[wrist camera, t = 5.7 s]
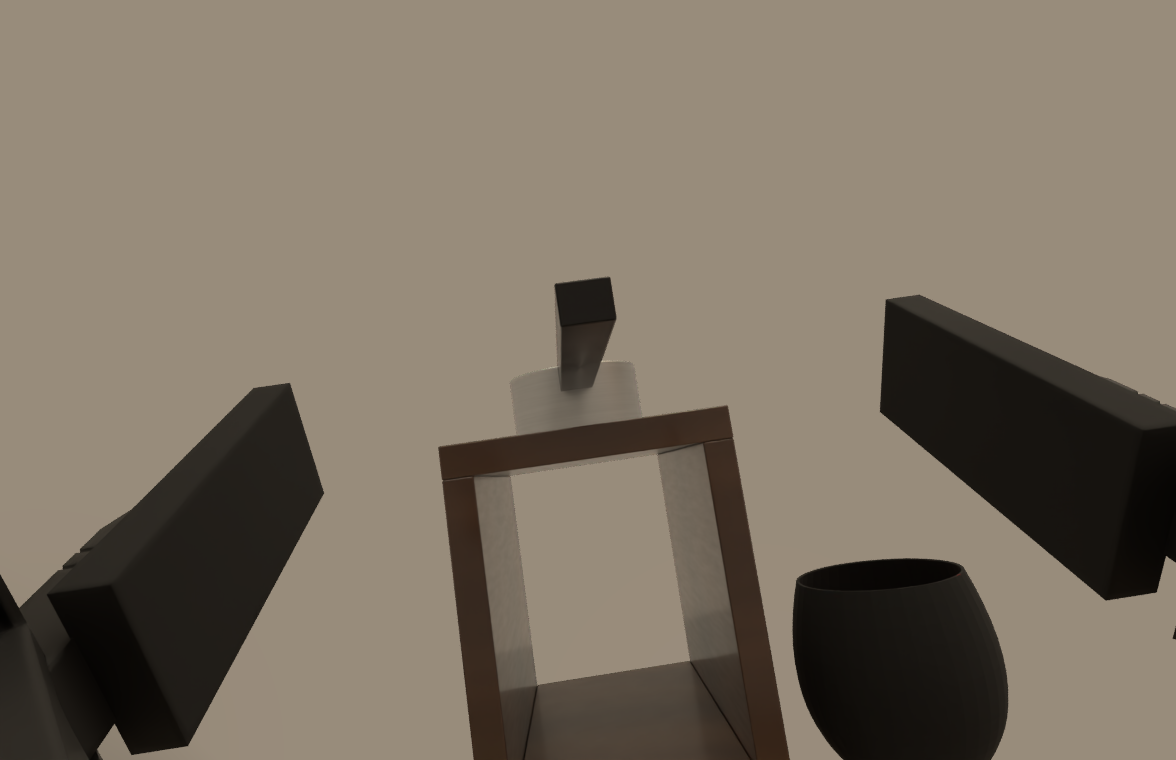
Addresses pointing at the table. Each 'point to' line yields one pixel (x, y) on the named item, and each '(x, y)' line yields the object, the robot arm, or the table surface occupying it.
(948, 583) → the wine glass
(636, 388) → the pan
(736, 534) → the shelf
